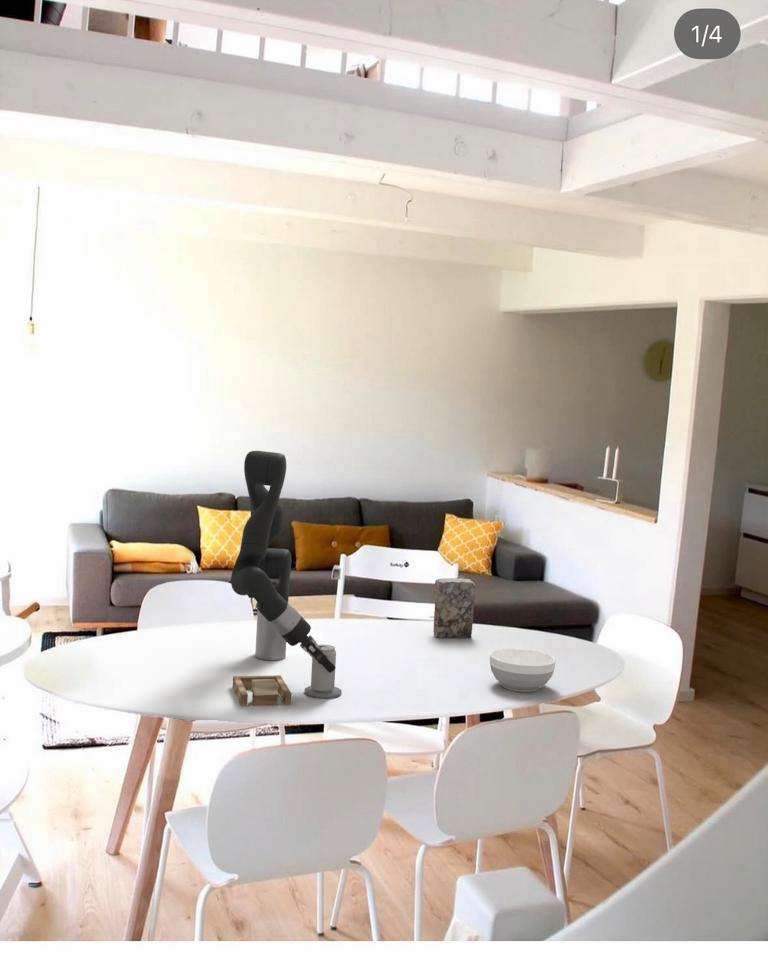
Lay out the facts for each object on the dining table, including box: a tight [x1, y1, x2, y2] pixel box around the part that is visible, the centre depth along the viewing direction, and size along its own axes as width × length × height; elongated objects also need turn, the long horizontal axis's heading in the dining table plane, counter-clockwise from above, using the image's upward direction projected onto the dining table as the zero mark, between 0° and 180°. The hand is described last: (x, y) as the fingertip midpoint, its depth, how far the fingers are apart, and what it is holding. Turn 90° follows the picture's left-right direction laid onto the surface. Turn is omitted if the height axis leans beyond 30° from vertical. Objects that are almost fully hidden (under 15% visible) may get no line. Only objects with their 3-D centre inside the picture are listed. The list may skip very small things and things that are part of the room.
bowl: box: [489, 648, 557, 693], centre depth 294 cm, size 19×19×9 cm
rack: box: [232, 674, 293, 707], centre depth 271 cm, size 17×13×3 cm
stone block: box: [433, 577, 477, 639], centre depth 351 cm, size 13×7×20 cm, turn 109°
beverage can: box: [310, 644, 337, 693], centre depth 276 cm, size 6×6×12 cm
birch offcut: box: [250, 679, 279, 696], centre depth 264 cm, size 4×6×3 cm, turn 110°
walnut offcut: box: [251, 693, 279, 707], centre depth 265 cm, size 4×6×3 cm, turn 105°
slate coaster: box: [304, 685, 343, 700], centre depth 277 cm, size 10×10×1 cm
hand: (329, 666), depth 276 cm, fingers open, 7 cm apart
